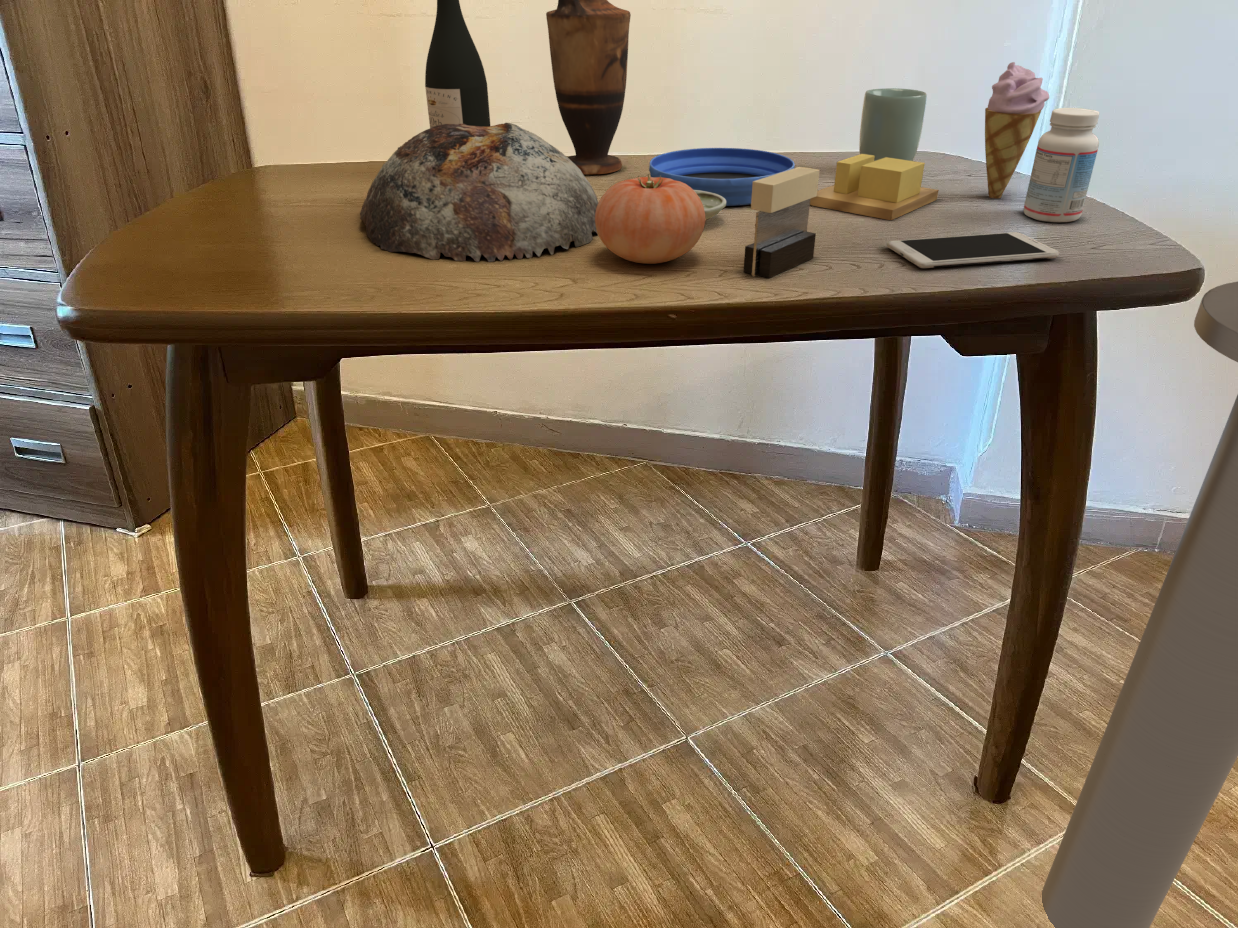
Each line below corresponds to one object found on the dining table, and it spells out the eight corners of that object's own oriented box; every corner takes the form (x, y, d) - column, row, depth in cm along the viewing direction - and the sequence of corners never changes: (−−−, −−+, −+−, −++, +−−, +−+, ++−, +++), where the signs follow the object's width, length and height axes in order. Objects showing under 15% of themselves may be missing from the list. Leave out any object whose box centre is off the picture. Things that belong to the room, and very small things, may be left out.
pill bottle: (1066, 209, 102) (1092, 106, 96) (1089, 224, 96) (1118, 115, 91) (1013, 209, 102) (1036, 106, 96) (1033, 224, 97) (1059, 116, 91)
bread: (561, 178, 117) (557, 98, 112) (643, 245, 91) (644, 145, 86) (351, 195, 110) (337, 111, 105) (375, 275, 83) (358, 167, 78)
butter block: (920, 193, 104) (925, 162, 102) (896, 203, 100) (901, 171, 98) (881, 186, 107) (885, 157, 105) (857, 196, 103) (861, 165, 101)
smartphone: (884, 240, 89) (1018, 231, 91) (883, 246, 89) (1016, 237, 92) (920, 263, 83) (1062, 252, 85) (919, 269, 83) (1061, 258, 85)
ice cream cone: (989, 188, 111) (1016, 58, 103) (1035, 197, 107) (1067, 63, 99) (959, 196, 107) (984, 62, 100) (1005, 206, 103) (1035, 67, 95)
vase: (592, 157, 129) (586, -83, 113) (646, 168, 122) (648, -85, 107) (536, 169, 122) (523, -84, 107) (591, 181, 115) (585, -87, 100)
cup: (895, 163, 123) (906, 87, 118) (925, 175, 117) (939, 95, 112) (845, 167, 122) (854, 90, 116) (873, 179, 115) (884, 98, 110)
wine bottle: (455, 184, 115) (427, -85, 99) (424, 174, 120) (393, -83, 104) (505, 174, 119) (486, -85, 104) (473, 165, 124) (450, -83, 109)
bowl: (722, 168, 122) (723, 141, 120) (821, 193, 109) (825, 163, 108) (620, 188, 112) (619, 159, 110) (716, 217, 100) (717, 186, 98)
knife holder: (813, 258, 87) (816, 233, 86) (768, 278, 82) (770, 252, 80) (788, 252, 88) (790, 228, 87) (743, 272, 83) (744, 246, 82)
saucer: (671, 237, 93) (672, 214, 92) (623, 217, 100) (623, 195, 99) (742, 223, 98) (744, 201, 96) (692, 205, 105) (692, 184, 103)
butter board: (937, 200, 106) (938, 189, 105) (891, 220, 98) (892, 209, 98) (855, 186, 112) (856, 176, 112) (806, 204, 105) (807, 194, 104)
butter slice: (870, 185, 108) (874, 155, 106) (846, 194, 104) (850, 164, 102) (857, 182, 109) (861, 153, 107) (833, 192, 105) (836, 161, 103)
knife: (813, 256, 87) (822, 168, 83) (762, 279, 82) (770, 186, 77) (794, 252, 89) (802, 165, 84) (743, 274, 83) (749, 182, 78)
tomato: (726, 262, 86) (730, 179, 82) (636, 283, 81) (636, 196, 77) (660, 236, 94) (662, 159, 90) (575, 254, 88) (572, 173, 84)
